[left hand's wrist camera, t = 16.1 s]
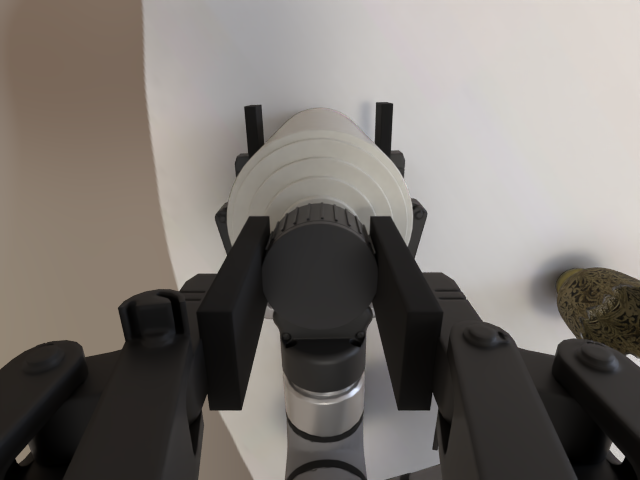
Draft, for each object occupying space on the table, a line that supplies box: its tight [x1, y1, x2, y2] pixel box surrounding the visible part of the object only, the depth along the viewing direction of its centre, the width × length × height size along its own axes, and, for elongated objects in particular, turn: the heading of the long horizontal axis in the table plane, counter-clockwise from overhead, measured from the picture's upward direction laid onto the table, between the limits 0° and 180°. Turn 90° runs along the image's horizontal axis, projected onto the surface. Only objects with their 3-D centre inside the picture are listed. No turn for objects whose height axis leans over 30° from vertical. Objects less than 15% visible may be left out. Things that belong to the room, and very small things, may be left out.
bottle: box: [227, 108, 413, 247], centre depth 23 cm, size 8×8×23 cm
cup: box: [556, 268, 640, 358], centre depth 35 cm, size 8×7×8 cm
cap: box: [262, 202, 378, 330], centre depth 13 cm, size 4×4×2 cm
